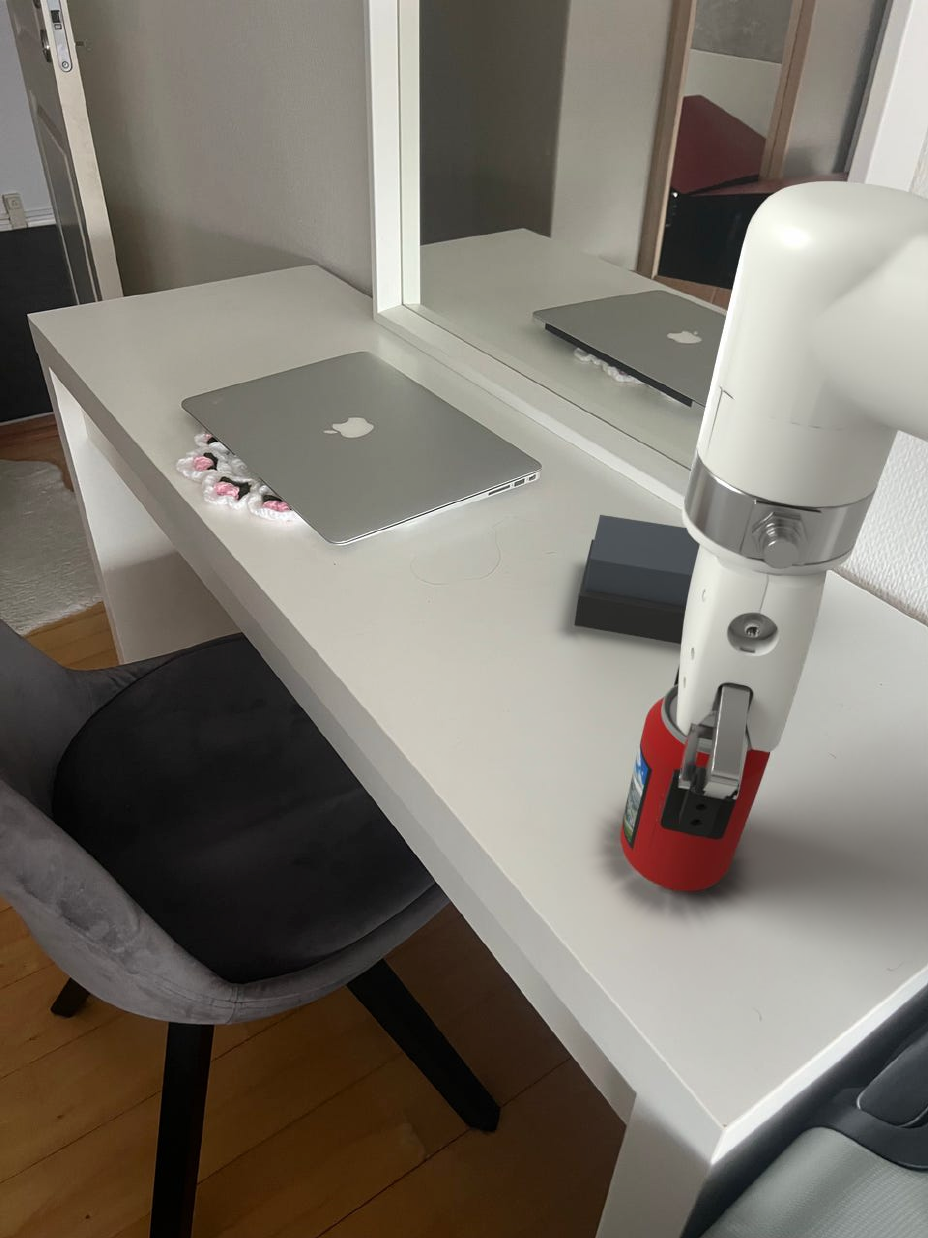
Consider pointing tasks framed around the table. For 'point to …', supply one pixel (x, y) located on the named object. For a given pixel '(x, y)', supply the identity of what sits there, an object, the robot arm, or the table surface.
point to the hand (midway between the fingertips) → (694, 760)
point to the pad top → (642, 560)
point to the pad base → (628, 614)
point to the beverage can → (642, 836)
